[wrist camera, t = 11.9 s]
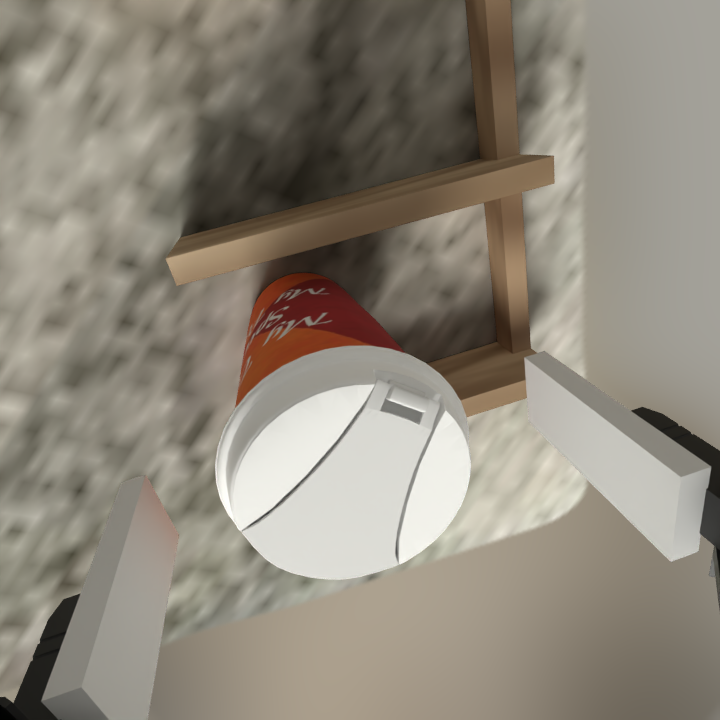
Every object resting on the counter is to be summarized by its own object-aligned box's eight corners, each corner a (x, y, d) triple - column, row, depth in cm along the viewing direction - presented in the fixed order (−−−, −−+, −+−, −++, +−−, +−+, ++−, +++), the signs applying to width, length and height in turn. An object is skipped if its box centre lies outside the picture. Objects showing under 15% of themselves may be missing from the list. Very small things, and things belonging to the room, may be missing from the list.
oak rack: (-110, -509, 14) (-275, -813, 10) (447, -563, 16) (526, -840, 11) (256, 432, 30) (258, 483, 25) (515, 352, 31) (560, 387, 27)
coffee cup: (263, 225, 25) (283, 319, 11) (396, 286, 28) (537, 419, 14) (207, 361, 27) (168, 573, 14) (335, 405, 30) (406, 613, 17)
